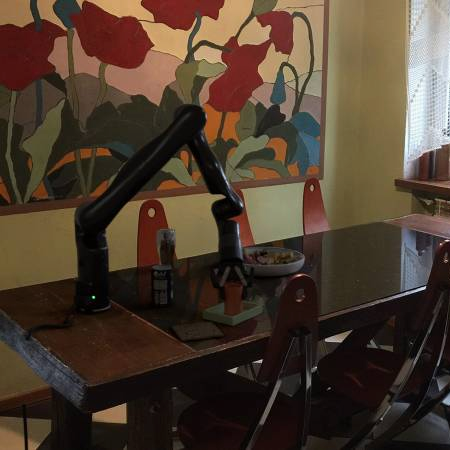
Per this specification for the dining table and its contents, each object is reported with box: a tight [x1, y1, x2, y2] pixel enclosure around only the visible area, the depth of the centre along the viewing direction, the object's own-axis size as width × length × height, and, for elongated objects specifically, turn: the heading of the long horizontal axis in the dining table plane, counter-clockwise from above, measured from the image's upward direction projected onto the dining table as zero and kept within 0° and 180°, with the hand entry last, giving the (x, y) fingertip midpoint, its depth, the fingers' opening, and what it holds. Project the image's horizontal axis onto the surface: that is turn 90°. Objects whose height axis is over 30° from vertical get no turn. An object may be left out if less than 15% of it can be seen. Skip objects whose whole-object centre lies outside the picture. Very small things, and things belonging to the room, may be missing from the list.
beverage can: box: [150, 264, 174, 307], centre depth 226 cm, size 7×7×12 cm
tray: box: [202, 300, 263, 327], centre depth 218 cm, size 15×11×2 cm
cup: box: [223, 282, 244, 317], centre depth 217 cm, size 6×6×9 cm
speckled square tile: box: [171, 320, 225, 342], centre depth 203 cm, size 12×12×1 cm
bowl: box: [242, 246, 306, 278], centre depth 273 cm, size 30×30×8 cm
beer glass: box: [156, 228, 177, 272], centre depth 267 cm, size 7×7×15 cm
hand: (234, 299), depth 215 cm, fingers closed on cup, 5 cm apart
